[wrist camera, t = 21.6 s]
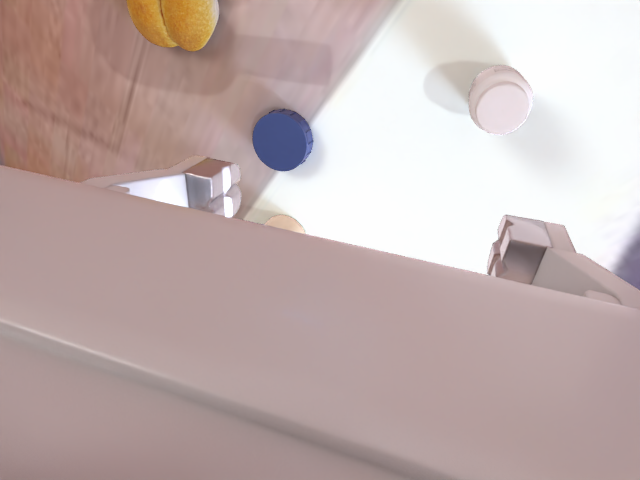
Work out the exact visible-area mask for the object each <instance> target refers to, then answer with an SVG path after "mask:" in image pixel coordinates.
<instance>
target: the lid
mask: <svg viewBox="0 0 640 480" xmlns="http://www.w3.org/2000/svg"><path fill="white" fill-rule="evenodd" d="M312 144H313V138H312V133H311V129H310V127H309V125H308V124H307V122H306V121H305V119H303V118H302V117H301V116H300V115H299V114H297V113H296V112H294V111H291V110H286V109H280V110H276V111H275V110H273V111H271V112H269V114H267V115H265V116H263V117H262V118H261V119H260V120H259V121H258V122H257V124H256V126H255V128H254V131H253V146H254V149H255V151H256V154H257V155H258V157H259V158H260V160H261V161H262V162H263V163H264V164H265V165H267V166H268V167H270V168H272V169H274V170H278V171H289V170H292V169H294V168H296V167H297V166H299V165H300V164H302V163H303V162H304V161H305V159H306V158H307V157H308V156H309V154H310V153H311V149H312Z"/></svg>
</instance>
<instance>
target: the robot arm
mask: <svg viewBox="0 0 640 480" xmlns="http://www.w3.org/2000/svg"><path fill="white" fill-rule="evenodd" d="M240 179H241V175H240V168H239V166H238V164H235V163H230V162H225V161H221V160H216V159H211V158H209V157H203V156H197V155H193V156H191V157H190V158H188V159H186V160H184V161H182V162H180V163H178V164H176V165H174V166H172V167H170V168H169V169H167V170H166V169H157V170H149V171H142V172H134V173H127V174H119V175H112V176H104V177H97V178H89V179H87V180H85V181H83V182H81V183H77V182H73V181H68V180H64V179H60V178H55V177H51V176H46V175H42V174H37V173H33V172H29V171H24V170H20V169H15V168H11V167H6V166H2V165H0V480H640V290H638V289H637V288H635V287H634V286H632V285H630V284H629V283H627V282H626V281H624V280H623V279H621V278H619V277H618V276H616V275H615V274H613V273H611V272H610V271H608V270H607V269H605V268H603V267H602V266H600V265H599V264H597V263H596V262H594V261H592V260H591V259H589V258H588V257H586V256H584V255H583V254H578V253H576V251H575V249H574V246H573V244H572V242H571V240H570V237H569V235H568V233H567V231H566V228H565V226H564V225H560V224H554V223H548V222H544V221H540V220H534V219H528V218H522V217H516V216H510V215H504V216H503V218H502V220H501V222H500V225H499V227H498V237H499V240H497V241H496V242H494V243H493V245H492V248H491V251H490V255H489V259H488V266H487V274H488V275H485V274H481V273H476V272H472V271H467V270H463V269H458V268H454V267H450V266H445V265H441V264H436V263H432V262H427V261H423V260H419V259H414V258H410V257H405V256H401V255H396V254H392V253H388V252H383V251H379V250H374V249H370V248H365V247H361V246H356V245H352V244H348V243H343V242H339V241H334V240H330V239H325V238H321V237H316V236H312V235H308V234H303V233H299V232H294V231H290V230H285V229H281V228H276V227H272V226H268V225H263V224H259V223H254V222H250V221H245V220H241V219H237V218H232V217H233V216H234V215H235V214H236V213H237V211H238V209H239V207H240V204H241V190H240V188H239V187H238V185H237V183H238V181H239V180H240Z"/></svg>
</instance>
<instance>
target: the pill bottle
mask: <svg viewBox="0 0 640 480" xmlns="http://www.w3.org/2000/svg"><path fill="white" fill-rule="evenodd" d="M532 104H533V93H532V89H531V87H530V85H529V84H528V82H527V81H526V80H525V79H524V77H523V76H522V75H521V74H520V73H519V72H518V71H517V70H515V69H514V68H512V67H509V66H504V65H497V66H493V67H490V68H488V69H486V70H484V71H483V72H481V73H480V74H479V75H478V76H477V77H476V78H475V80H474V81H473V83H472V85H471V87H470V91H469V112H470V115H471V118H472V120H473V121H474V123H475V124H476V125H477V126H478V127H479V128H481V129H482V130H484V131H486V132H488V133H491V134H494V135H504V134H508V133H511V132H513V131H515V130H516V129H518V128H519V127H520V126H521V125H522V124H523V123H524V122H525V120H526V118H527V116H528V114H529V112H530V110H531V107H532Z"/></svg>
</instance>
